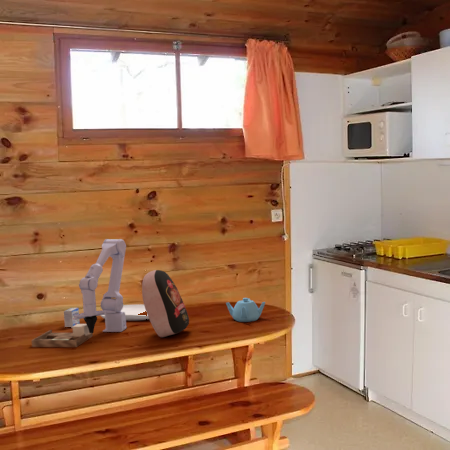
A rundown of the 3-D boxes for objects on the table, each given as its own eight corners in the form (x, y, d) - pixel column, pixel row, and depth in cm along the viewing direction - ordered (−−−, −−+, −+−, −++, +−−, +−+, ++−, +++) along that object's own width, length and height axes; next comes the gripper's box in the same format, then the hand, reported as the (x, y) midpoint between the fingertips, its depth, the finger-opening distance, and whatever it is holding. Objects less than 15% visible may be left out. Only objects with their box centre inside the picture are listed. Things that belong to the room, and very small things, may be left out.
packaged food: (181, 341, 256) (177, 273, 254) (138, 340, 260) (134, 274, 258) (192, 328, 278) (189, 266, 275) (153, 328, 281) (150, 267, 279)
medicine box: (72, 328, 290) (71, 310, 289) (64, 328, 291) (63, 310, 290) (79, 324, 297) (78, 307, 297) (71, 324, 298) (70, 307, 298)
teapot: (268, 319, 289) (267, 297, 289) (244, 324, 281) (243, 302, 280) (249, 314, 302) (248, 293, 301) (225, 319, 293) (224, 298, 292)
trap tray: (92, 336, 272) (92, 329, 272) (76, 347, 254) (75, 340, 254) (51, 336, 276) (50, 329, 275) (32, 346, 258) (31, 340, 258)
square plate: (150, 322, 295) (150, 314, 295) (100, 322, 300) (99, 315, 300) (165, 310, 322) (165, 303, 322) (118, 310, 327) (118, 304, 327)
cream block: (89, 333, 271) (88, 323, 271) (84, 336, 265) (83, 326, 265) (78, 333, 272) (77, 323, 272) (73, 336, 267) (72, 326, 266)
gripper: (101, 299, 274) (103, 328, 275) (71, 304, 266) (73, 333, 267) (106, 302, 268) (108, 331, 269) (76, 306, 260) (77, 336, 261)
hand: (91, 332), depth 268 cm, fingers closed
